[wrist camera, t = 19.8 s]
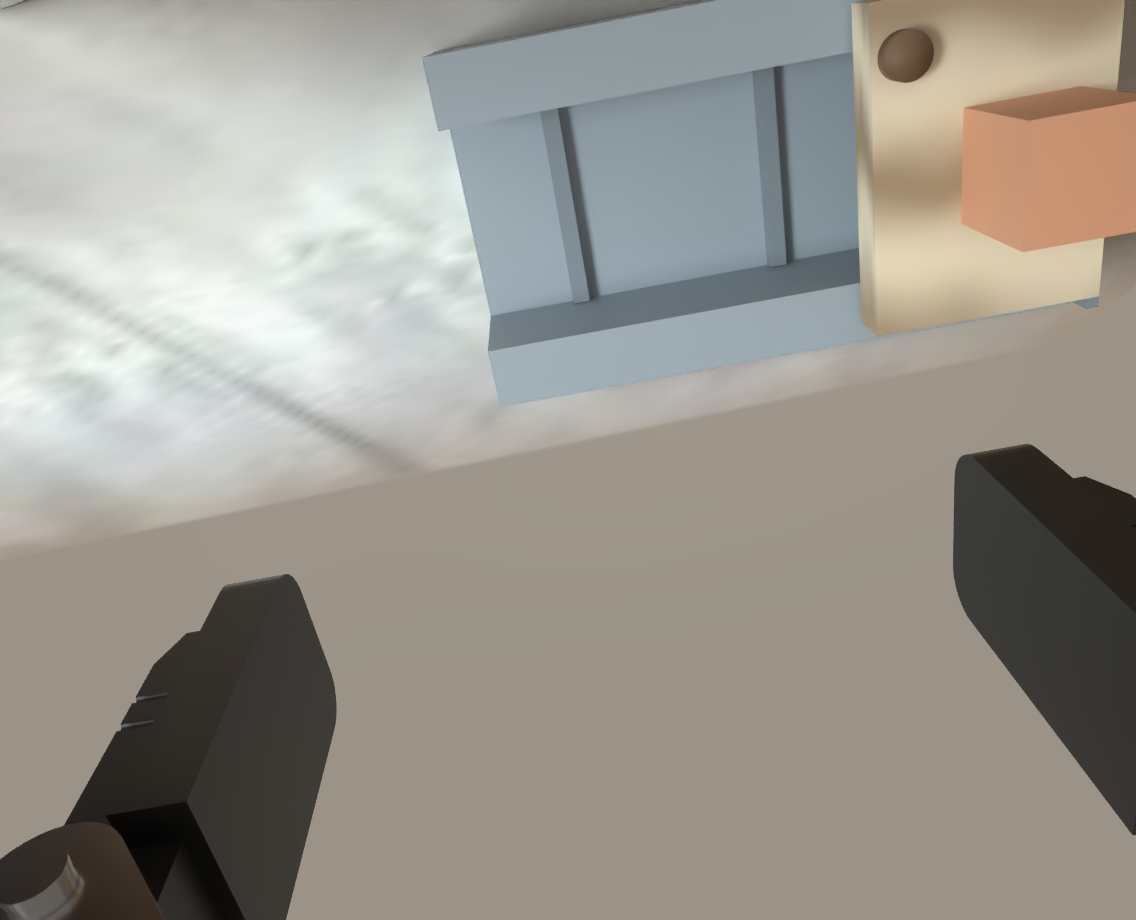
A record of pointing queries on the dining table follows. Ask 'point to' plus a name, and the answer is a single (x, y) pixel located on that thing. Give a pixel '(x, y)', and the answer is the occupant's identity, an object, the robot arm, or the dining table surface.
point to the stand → (660, 191)
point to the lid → (960, 150)
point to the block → (1050, 167)
